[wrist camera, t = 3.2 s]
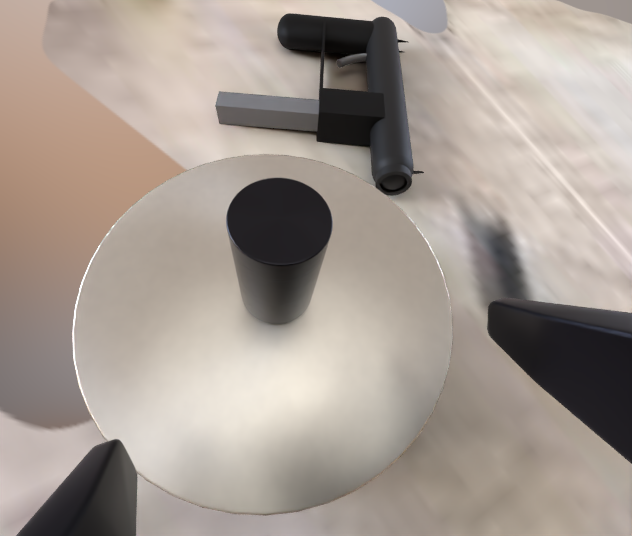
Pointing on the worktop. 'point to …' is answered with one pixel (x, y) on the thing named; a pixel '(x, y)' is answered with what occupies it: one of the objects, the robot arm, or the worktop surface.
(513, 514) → the worktop surface
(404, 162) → the door handle
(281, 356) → the tin lid
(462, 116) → the worktop surface
